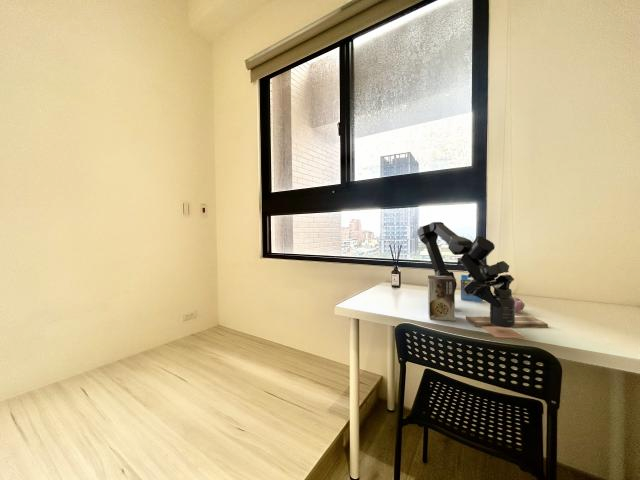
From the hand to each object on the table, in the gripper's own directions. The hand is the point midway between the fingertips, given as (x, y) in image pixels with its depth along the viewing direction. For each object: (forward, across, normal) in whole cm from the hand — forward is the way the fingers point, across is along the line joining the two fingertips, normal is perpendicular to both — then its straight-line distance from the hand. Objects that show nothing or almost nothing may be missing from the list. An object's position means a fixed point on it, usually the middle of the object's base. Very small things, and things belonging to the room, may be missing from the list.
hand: (506, 305), depth 85 cm
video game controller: (-2, +25, +16) cm, 30 cm away
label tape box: (-14, +24, +29) cm, 40 cm away
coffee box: (-8, -7, +21) cm, 23 cm away
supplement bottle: (+4, 0, +6) cm, 7 cm away
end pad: (+6, 0, +7) cm, 9 cm away
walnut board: (+2, +9, +11) cm, 14 cm away
